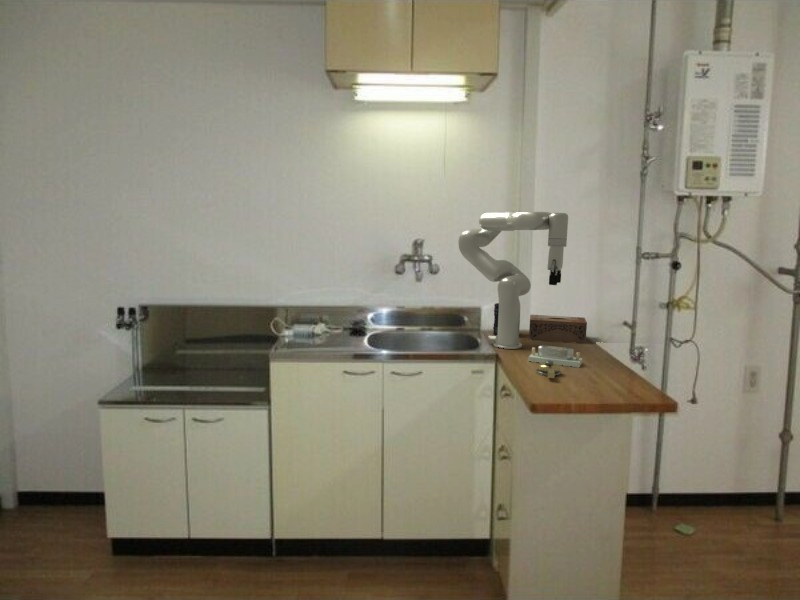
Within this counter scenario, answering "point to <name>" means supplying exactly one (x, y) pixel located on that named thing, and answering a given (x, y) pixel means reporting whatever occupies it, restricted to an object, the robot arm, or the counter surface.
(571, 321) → the tissue box cover
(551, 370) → the gold handled disc
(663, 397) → the counter surface
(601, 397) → the counter surface
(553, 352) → the steel bar
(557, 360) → the peg rest
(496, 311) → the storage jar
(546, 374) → the round gray base
